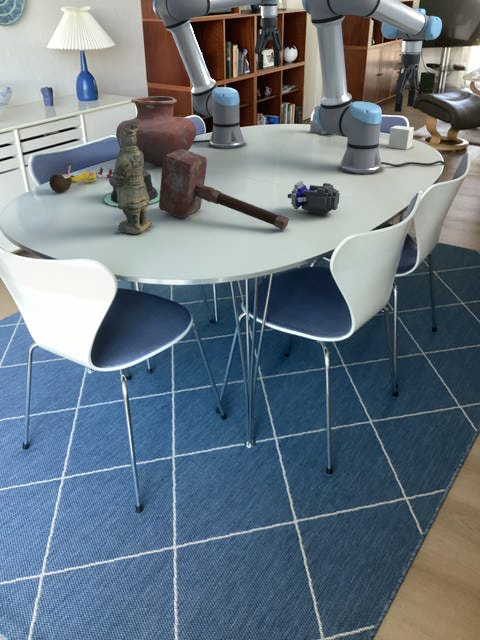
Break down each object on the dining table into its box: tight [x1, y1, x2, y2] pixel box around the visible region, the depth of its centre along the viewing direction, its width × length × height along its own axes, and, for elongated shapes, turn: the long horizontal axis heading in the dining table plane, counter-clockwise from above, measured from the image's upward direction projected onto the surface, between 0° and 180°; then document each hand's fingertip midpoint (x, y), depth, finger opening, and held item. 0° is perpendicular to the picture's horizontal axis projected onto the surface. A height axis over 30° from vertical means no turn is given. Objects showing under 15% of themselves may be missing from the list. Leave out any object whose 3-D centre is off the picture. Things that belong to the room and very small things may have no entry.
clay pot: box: [115, 95, 197, 166], centre depth 218 cm, size 30×30×25 cm
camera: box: [309, 105, 328, 135], centre depth 263 cm, size 9×12×15 cm
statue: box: [108, 121, 153, 235], centre depth 154 cm, size 11×9×30 cm
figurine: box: [48, 164, 113, 193], centre depth 199 cm, size 13×8×25 cm
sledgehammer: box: [158, 149, 290, 231], centre depth 163 cm, size 17×10×40 cm
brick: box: [388, 125, 415, 151], centre depth 238 cm, size 6×8×8 cm
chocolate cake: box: [103, 168, 160, 207], centre depth 186 cm, size 15×19×20 cm
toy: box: [287, 180, 341, 216], centre depth 168 cm, size 9×9×15 cm
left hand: (268, 68), depth 261 cm, fingers open, 13 cm apart
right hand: (404, 109), depth 232 cm, fingers open, 13 cm apart
